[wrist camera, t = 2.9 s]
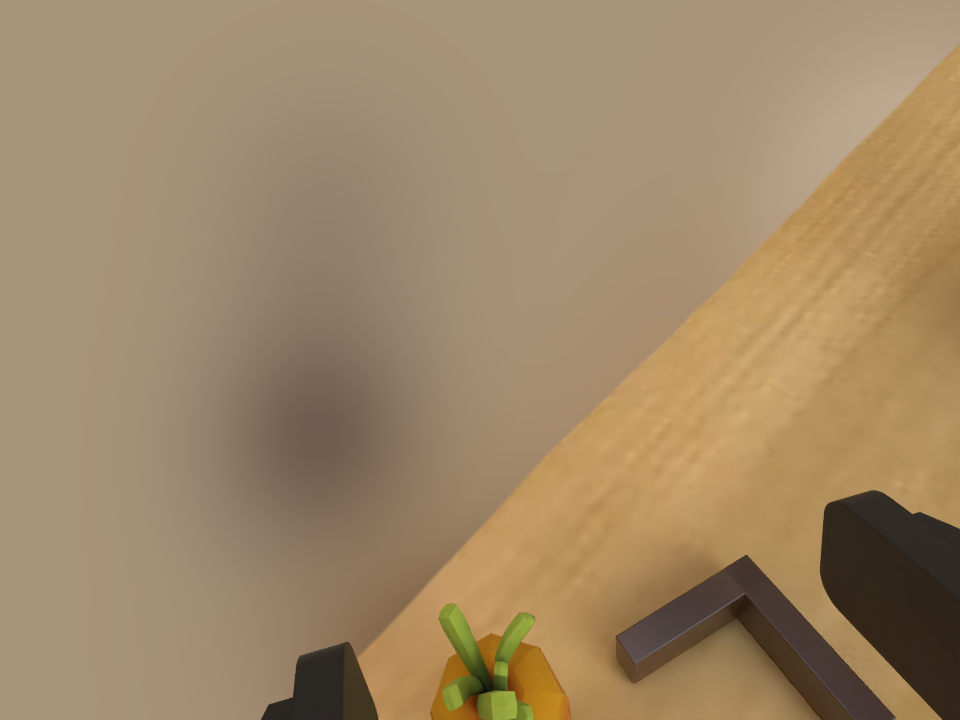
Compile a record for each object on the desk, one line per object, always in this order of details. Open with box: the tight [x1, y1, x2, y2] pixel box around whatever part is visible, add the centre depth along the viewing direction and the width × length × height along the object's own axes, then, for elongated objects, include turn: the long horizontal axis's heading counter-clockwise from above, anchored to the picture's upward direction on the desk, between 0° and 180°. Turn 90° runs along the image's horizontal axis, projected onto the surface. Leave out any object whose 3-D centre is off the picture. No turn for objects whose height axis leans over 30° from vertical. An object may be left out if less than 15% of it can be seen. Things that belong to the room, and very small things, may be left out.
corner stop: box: [616, 555, 896, 720], centre depth 28 cm, size 8×8×3 cm
